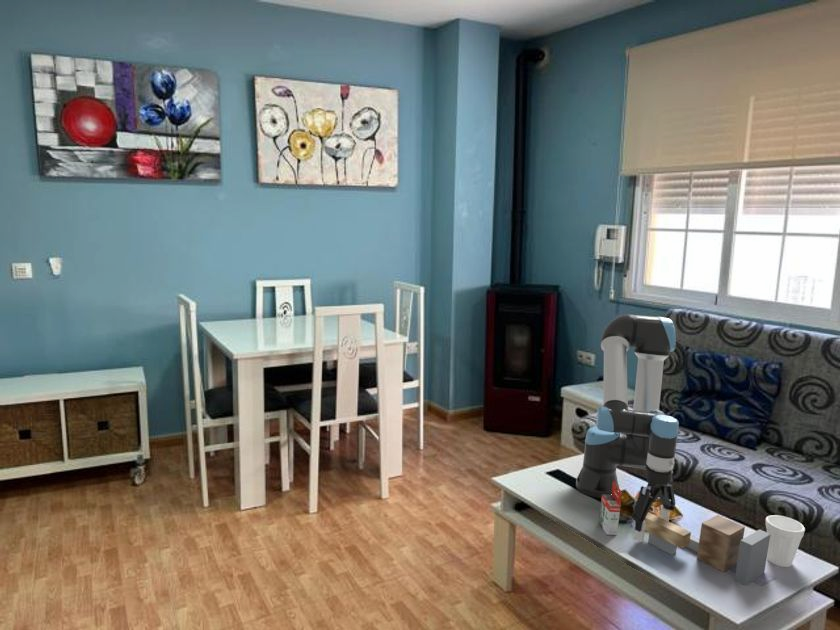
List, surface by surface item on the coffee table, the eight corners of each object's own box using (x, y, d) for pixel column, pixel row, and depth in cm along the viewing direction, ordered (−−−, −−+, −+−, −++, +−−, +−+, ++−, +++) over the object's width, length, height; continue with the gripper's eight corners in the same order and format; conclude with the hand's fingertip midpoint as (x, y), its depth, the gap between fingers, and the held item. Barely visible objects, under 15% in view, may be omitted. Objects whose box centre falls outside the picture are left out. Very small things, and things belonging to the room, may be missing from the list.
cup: (752, 553, 184) (759, 513, 182) (786, 556, 184) (792, 516, 182) (770, 573, 175) (777, 531, 172) (805, 575, 174) (813, 533, 172)
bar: (638, 527, 186) (640, 515, 186) (646, 523, 189) (647, 511, 188) (681, 548, 175) (683, 535, 175) (689, 544, 178) (690, 532, 177)
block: (696, 558, 178) (701, 522, 176) (712, 549, 183) (717, 514, 181) (723, 572, 172) (729, 535, 170) (739, 562, 177) (744, 526, 175)
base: (660, 545, 186) (665, 506, 184) (679, 535, 193) (684, 497, 190) (746, 590, 166) (753, 546, 163) (765, 577, 172) (772, 534, 170)
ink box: (606, 535, 190) (611, 491, 188) (597, 522, 198) (602, 480, 196) (617, 535, 191) (622, 491, 188) (608, 522, 198) (613, 480, 196)
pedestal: (647, 545, 185) (649, 530, 185) (651, 544, 187) (653, 528, 186) (671, 558, 179) (674, 542, 178) (675, 556, 180) (677, 541, 180)
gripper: (647, 481, 172) (638, 551, 175) (693, 463, 186) (684, 528, 190) (624, 471, 177) (616, 539, 181) (670, 455, 192) (662, 518, 196)
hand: (650, 534), depth 185 cm, fingers open, 12 cm apart
